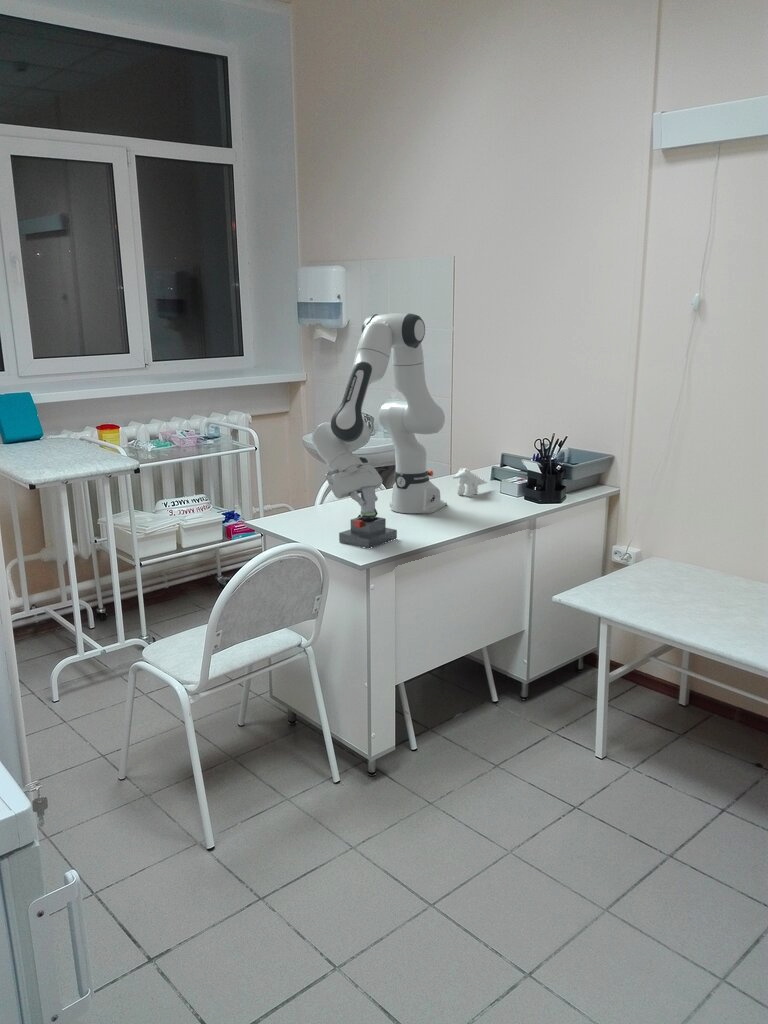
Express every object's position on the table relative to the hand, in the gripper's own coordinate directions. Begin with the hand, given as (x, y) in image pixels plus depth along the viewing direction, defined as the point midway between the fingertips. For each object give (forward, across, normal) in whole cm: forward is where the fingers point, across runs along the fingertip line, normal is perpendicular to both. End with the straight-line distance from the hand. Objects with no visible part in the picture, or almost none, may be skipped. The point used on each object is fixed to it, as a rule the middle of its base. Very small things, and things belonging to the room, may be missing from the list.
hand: (369, 502), depth 254 cm
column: (+6, 0, +7) cm, 9 cm away
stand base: (+8, 0, +9) cm, 12 cm away
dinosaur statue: (+2, +75, +16) cm, 77 cm away
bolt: (-1, +14, +19) cm, 24 cm away
